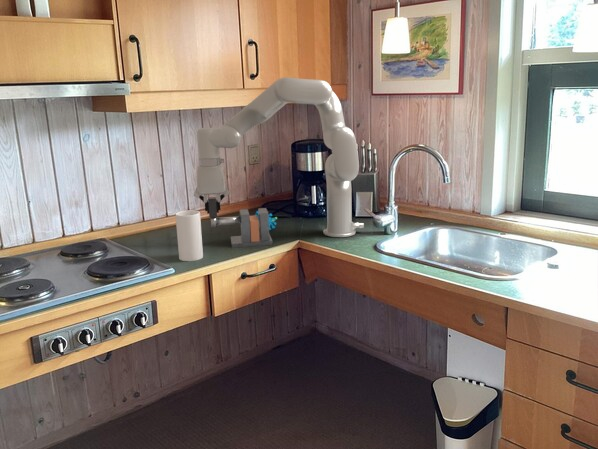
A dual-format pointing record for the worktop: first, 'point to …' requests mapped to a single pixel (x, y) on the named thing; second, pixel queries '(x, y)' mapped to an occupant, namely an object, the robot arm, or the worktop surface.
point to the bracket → (245, 230)
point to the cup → (189, 235)
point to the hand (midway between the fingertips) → (213, 212)
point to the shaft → (222, 220)
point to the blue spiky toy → (271, 221)
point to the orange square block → (254, 228)
